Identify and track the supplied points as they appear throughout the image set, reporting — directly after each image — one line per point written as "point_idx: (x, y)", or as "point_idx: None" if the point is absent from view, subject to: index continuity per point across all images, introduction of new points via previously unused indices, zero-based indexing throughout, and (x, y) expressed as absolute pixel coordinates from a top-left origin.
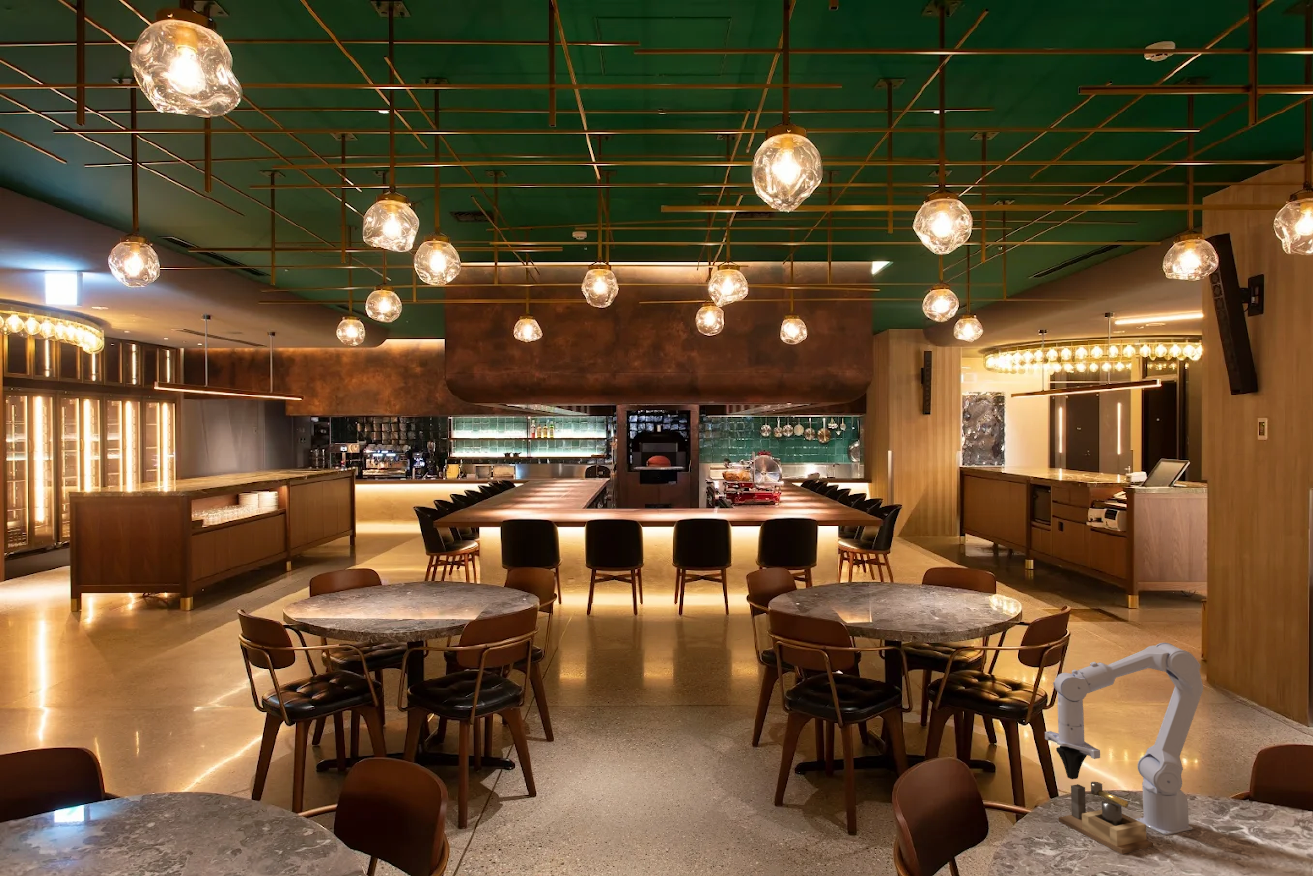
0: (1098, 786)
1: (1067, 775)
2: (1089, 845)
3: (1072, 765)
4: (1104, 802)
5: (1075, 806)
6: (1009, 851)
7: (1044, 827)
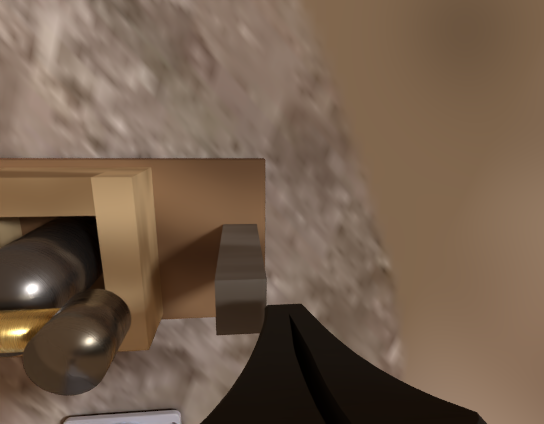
0: (30, 344)
1: (301, 308)
2: (64, 105)
3: (242, 371)
4: (15, 282)
5: (237, 240)
6: None
7: (249, 60)
